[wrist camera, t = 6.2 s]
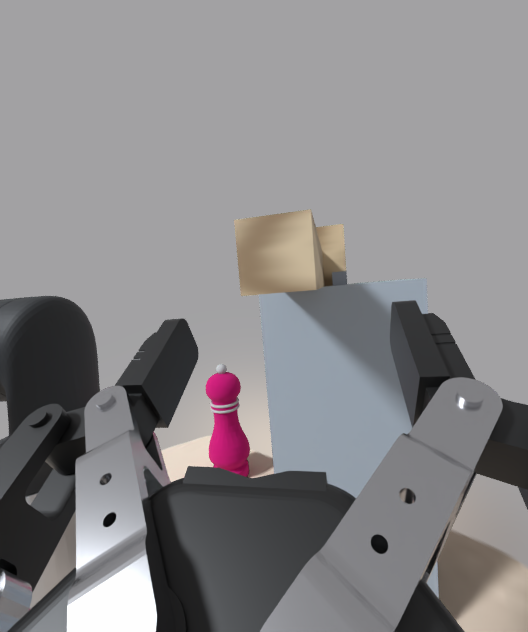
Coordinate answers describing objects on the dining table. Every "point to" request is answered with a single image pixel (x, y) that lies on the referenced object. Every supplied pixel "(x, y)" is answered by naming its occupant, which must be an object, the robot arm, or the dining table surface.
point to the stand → (336, 379)
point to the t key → (287, 253)
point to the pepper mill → (227, 424)
